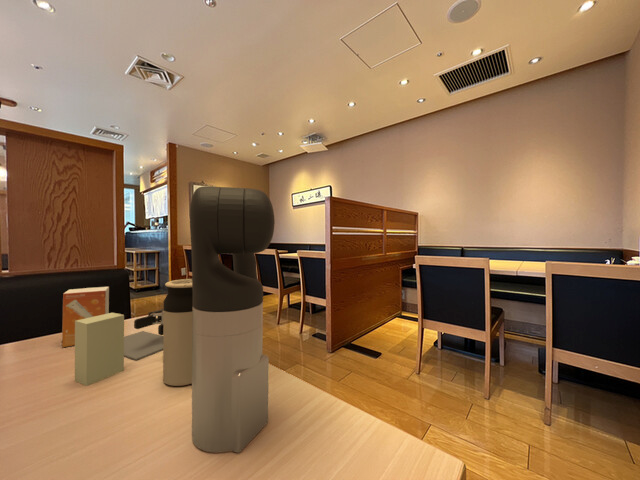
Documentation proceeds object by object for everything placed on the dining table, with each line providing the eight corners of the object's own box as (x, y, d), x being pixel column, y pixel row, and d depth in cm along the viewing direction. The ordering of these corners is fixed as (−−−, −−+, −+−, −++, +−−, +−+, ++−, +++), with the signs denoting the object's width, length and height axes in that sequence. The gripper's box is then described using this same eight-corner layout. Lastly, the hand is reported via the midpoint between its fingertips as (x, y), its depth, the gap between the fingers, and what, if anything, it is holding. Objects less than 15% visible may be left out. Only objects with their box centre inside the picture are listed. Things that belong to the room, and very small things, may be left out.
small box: (61, 348, 61) (61, 293, 61) (68, 339, 67) (68, 288, 67) (105, 341, 66) (106, 289, 66) (109, 333, 71) (109, 286, 71)
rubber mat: (182, 342, 65) (182, 340, 65) (136, 360, 55) (136, 358, 55) (142, 332, 72) (142, 330, 72) (94, 347, 62) (94, 345, 62)
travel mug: (154, 379, 48) (154, 282, 48) (193, 362, 55) (194, 277, 55) (179, 392, 44) (180, 286, 44) (218, 372, 51) (219, 280, 51)
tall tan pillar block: (123, 370, 51) (124, 315, 51) (86, 386, 46) (86, 323, 46) (112, 366, 53) (112, 312, 53) (74, 380, 48) (74, 320, 47)
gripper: (188, 293, 75) (127, 306, 60) (226, 298, 69) (168, 314, 54) (188, 319, 75) (127, 339, 60) (225, 327, 69) (168, 350, 54)
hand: (146, 327), depth 57 cm, fingers open, 8 cm apart
